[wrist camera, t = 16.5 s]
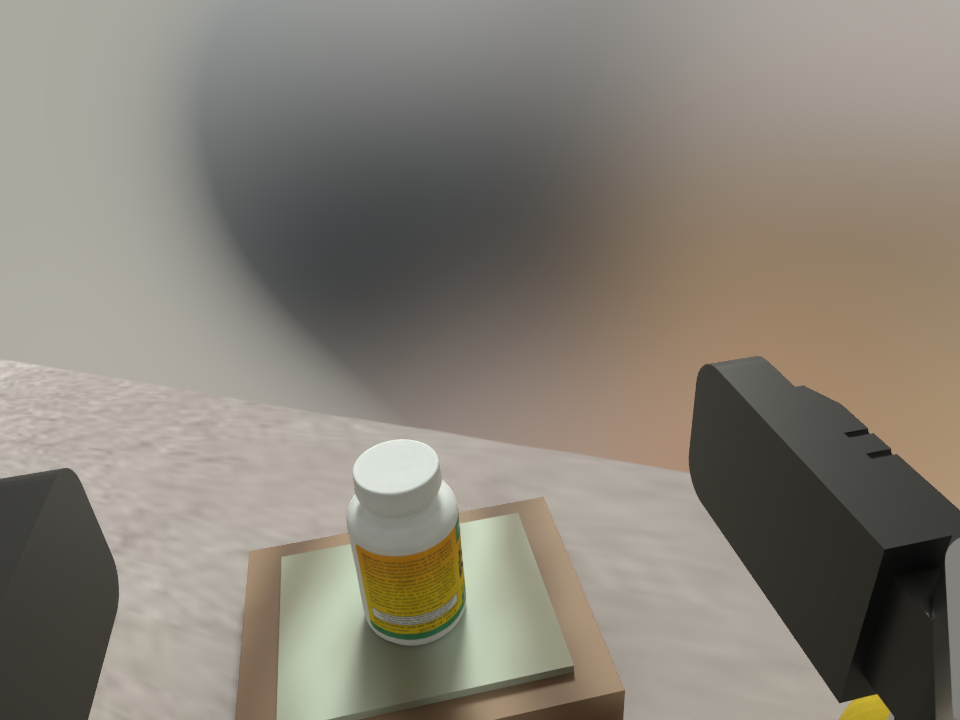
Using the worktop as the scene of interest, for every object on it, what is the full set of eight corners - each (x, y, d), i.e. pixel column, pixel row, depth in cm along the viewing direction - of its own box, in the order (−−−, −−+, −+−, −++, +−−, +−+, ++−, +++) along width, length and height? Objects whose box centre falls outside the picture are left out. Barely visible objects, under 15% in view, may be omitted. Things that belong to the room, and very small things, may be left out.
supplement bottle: (351, 593, 41) (321, 452, 36) (440, 555, 43) (423, 416, 38) (388, 668, 37) (360, 519, 32) (486, 621, 39) (473, 475, 34)
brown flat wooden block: (544, 526, 48) (543, 490, 47) (622, 722, 37) (625, 683, 35) (258, 581, 46) (247, 545, 44) (243, 811, 34) (227, 772, 33)
